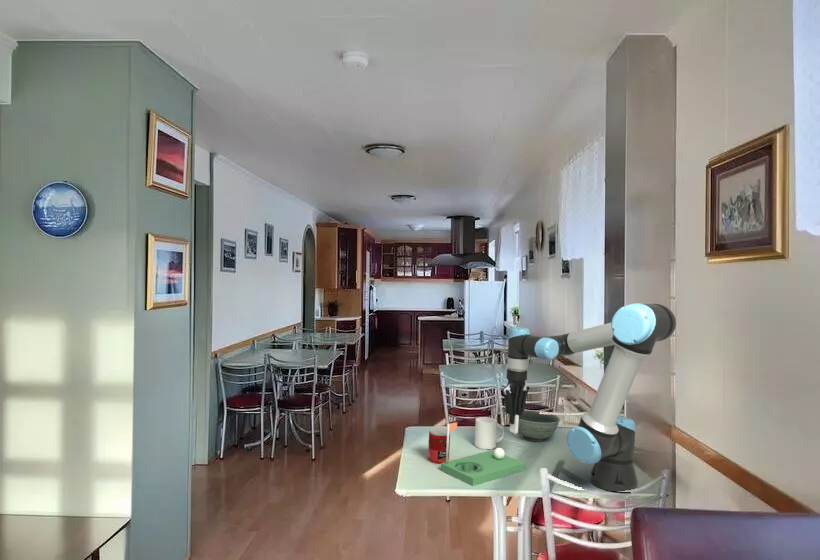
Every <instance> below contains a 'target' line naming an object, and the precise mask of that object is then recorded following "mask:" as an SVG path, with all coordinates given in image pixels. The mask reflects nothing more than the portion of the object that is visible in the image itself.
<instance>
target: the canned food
mask: <svg viewBox="0 0 820 560" xmlns="http://www.w3.org/2000/svg"><path fill="white" fill-rule="evenodd" d="M450 438H451V431H449V448H448V461H450V445H451V444H450V443H451V439H450ZM446 448H447V428H444V427H431V428H430V429H429V431H428V451H427V452H428V453H427V455H428V456H427V458H428V461H429V462H430V463H432V464H437V465H441V463H444V462H446Z"/></svg>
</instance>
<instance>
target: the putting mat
mask: <svg viewBox="0 0 820 560" xmlns="http://www.w3.org/2000/svg"><path fill="white" fill-rule="evenodd" d="M446 429H447V448H446V462H444V463H441V464H440V471H441V472H442V473H445V474H448V475H449V476H450V477H451V476H452V477H453V478H455V479H458V480H460V481H461V482H464V483H466V484H468V485H470V486H472V487H475V486H478V485H480V484H481V485H482V484H483V483H487V482H490V481H493V480H498V479H501V478H503V476H504V477H507V476H510V475H514V474H516V473H520V472H523V470H524V471H526V463H525V462H523V461H521V460H519V459H516V458H513V457H510V456H508V455H505V456H504V457H503V458H502V459H497V458H495V456H494V449H490V450H487V451H484V452H480V453H477V454H476V453H475V454H472V455H468V456H464V457H460V458H456V459H452V460H449V461H448V448H449V431H450V432H452V431H453V432H454V431H456V430H458V422H452V423H451V422H450V423H447V426H446ZM513 473H514V474H513ZM500 477H501V478H500Z"/></svg>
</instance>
